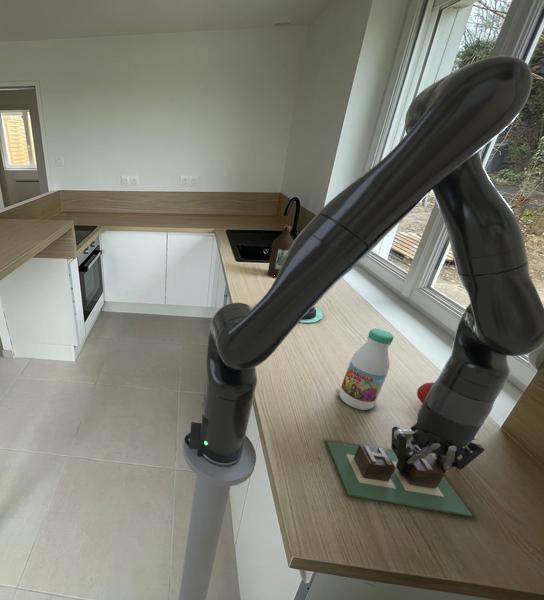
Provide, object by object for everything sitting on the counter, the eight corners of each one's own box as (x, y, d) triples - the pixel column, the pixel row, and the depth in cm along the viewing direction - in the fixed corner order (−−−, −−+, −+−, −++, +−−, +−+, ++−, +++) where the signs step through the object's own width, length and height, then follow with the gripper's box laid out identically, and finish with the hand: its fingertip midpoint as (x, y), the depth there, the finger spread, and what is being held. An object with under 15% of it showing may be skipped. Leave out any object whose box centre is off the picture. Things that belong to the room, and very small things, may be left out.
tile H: (363, 478, 62) (370, 462, 60) (353, 458, 66) (359, 443, 64) (388, 482, 61) (396, 466, 59) (377, 461, 65) (384, 446, 63)
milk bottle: (343, 385, 87) (367, 321, 79) (376, 400, 82) (405, 333, 74) (334, 399, 82) (358, 332, 74) (368, 415, 77) (399, 345, 69)
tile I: (409, 484, 60) (418, 469, 59) (396, 463, 64) (404, 448, 63) (436, 488, 60) (445, 473, 58) (421, 467, 64) (430, 452, 62)
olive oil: (263, 270, 171) (273, 223, 160) (283, 271, 171) (294, 224, 160) (269, 277, 161) (280, 228, 151) (291, 278, 161) (303, 229, 150)
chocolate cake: (256, 300, 134) (294, 296, 141) (278, 338, 124) (318, 332, 130) (275, 277, 123) (315, 273, 129) (301, 317, 112) (343, 311, 119)
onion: (434, 401, 82) (447, 376, 79) (446, 417, 77) (461, 392, 74) (408, 396, 84) (420, 372, 81) (418, 412, 79) (431, 386, 76)
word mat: (348, 495, 59) (349, 493, 59) (326, 442, 70) (327, 440, 69) (471, 517, 56) (472, 514, 56) (428, 458, 67) (430, 456, 67)
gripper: (485, 398, 57) (444, 464, 64) (396, 387, 59) (367, 452, 66) (522, 431, 50) (472, 500, 57) (421, 417, 52) (385, 486, 60)
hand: (416, 474), depth 62 cm, fingers closed on tile I, 4 cm apart
